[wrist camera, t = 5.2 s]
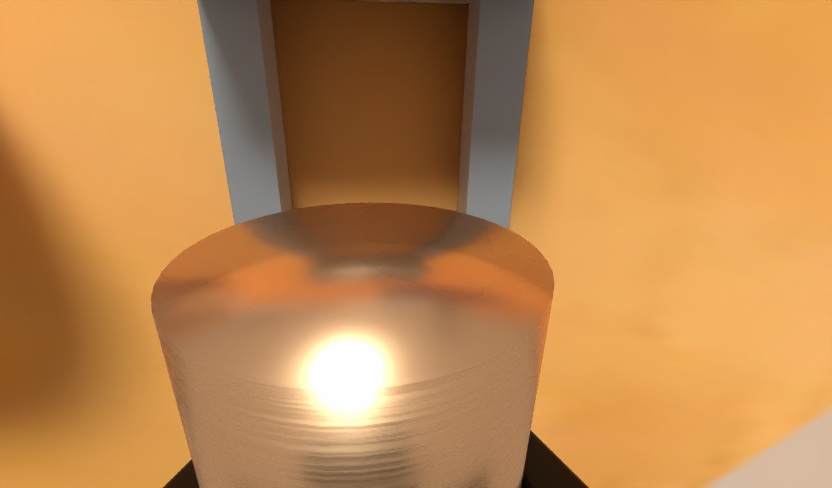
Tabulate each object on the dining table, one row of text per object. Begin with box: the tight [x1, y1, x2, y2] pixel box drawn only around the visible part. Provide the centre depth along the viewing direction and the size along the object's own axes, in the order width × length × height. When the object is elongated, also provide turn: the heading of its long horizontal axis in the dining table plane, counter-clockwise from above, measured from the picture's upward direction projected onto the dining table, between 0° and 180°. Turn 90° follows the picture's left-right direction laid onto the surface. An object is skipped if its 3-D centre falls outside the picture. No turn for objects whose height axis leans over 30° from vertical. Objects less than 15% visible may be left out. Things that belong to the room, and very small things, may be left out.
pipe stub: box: [151, 203, 554, 488], centre depth 6 cm, size 8×4×4 cm
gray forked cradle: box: [197, 0, 534, 229], centre depth 10 cm, size 13×8×6 cm, turn 179°
